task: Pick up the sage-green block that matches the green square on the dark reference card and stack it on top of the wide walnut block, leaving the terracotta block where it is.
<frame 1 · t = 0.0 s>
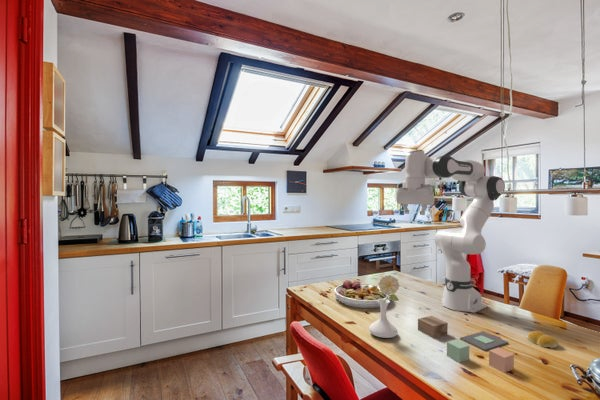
hand: (414, 214, 142), 48 cm above the table, tool pointing down, fingers open, 8 cm apart
green block: (457, 357, 107), on the table
terracotta block: (501, 367, 101), on the table
walnut base block: (432, 332, 126), on the table
bread roll: (542, 343, 118), on the table
bowl: (362, 300, 165), on the table
flower in vase: (384, 335, 123), on the table
reference card: (483, 341, 119), on the table
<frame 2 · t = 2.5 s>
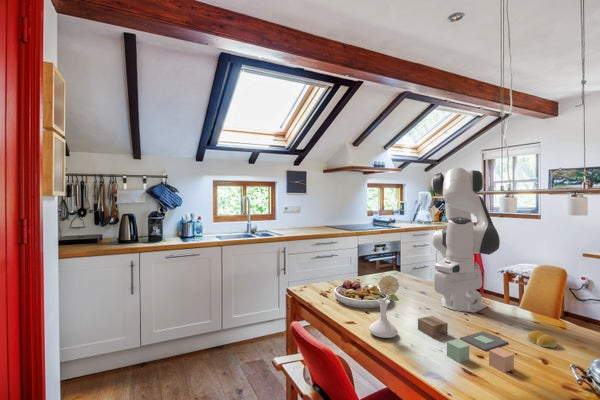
hand: (458, 303, 106), 19 cm above the table, tool pointing down, fingers open, 8 cm apart
nothing on the table moved.
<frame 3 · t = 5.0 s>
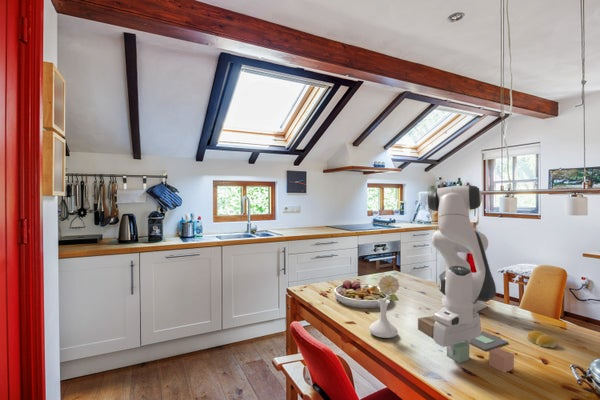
hand: (457, 352, 107), 2 cm above the table, tool pointing down, fingers closed on green block, 5 cm apart
green block: (457, 357, 107), on the table, touching gripper
everything else where it was.
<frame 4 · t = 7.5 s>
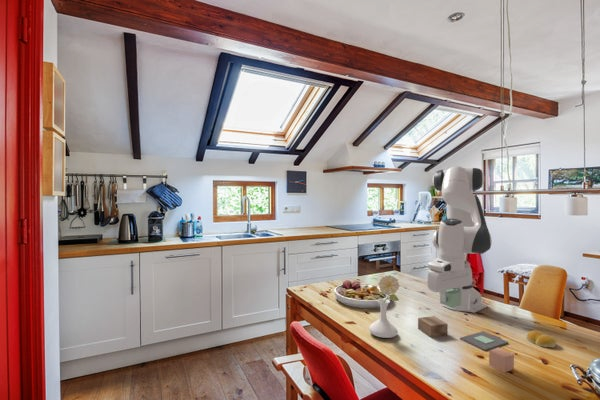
hand: (450, 299, 113), 18 cm above the table, tool pointing down, fingers closed on green block, 5 cm apart
green block: (450, 304, 113), point 16 cm above the table, touching gripper
everything else where it was.
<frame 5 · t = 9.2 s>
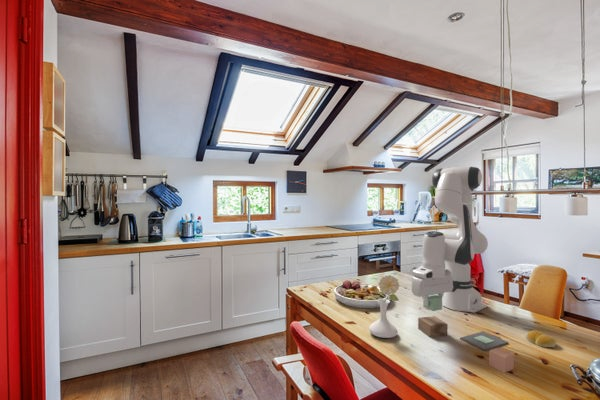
hand: (432, 304, 126), 12 cm above the table, tool pointing down, fingers closed on green block, 5 cm apart
green block: (432, 308, 126), point 10 cm above the table, touching gripper
everything else where it was.
when the fingers open (8 cm above the table, at t = 10.3 s): green block drops 2 cm, point 5 cm above the table.
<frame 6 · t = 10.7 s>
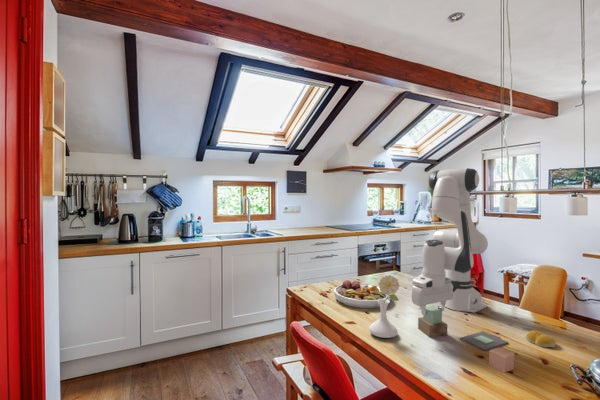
hand: (432, 312, 126), 8 cm above the table, tool pointing down, fingers open, 8 cm apart
green block: (432, 320, 126), point 5 cm above the table
everything else where it was.
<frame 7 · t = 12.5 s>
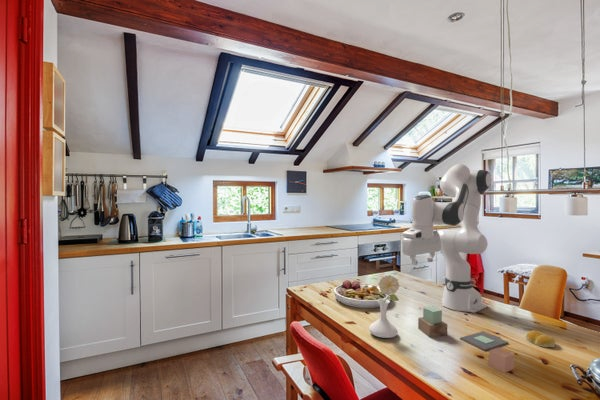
hand: (422, 263, 134), 27 cm above the table, tool pointing down, fingers open, 8 cm apart
nothing on the table moved.
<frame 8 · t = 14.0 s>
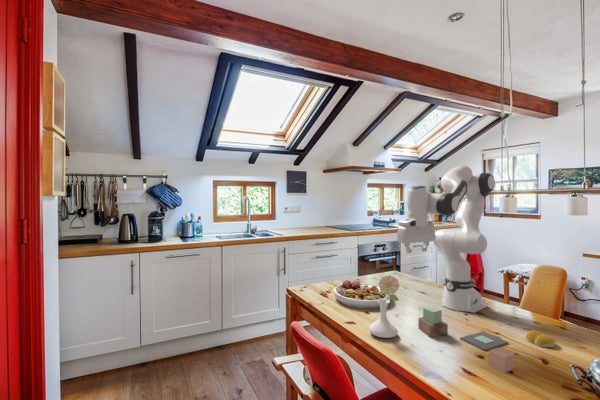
hand: (416, 252, 138), 31 cm above the table, tool pointing down, fingers open, 8 cm apart
green block: (432, 321, 126), point 5 cm above the table, touching walnut base block
walnut base block: (432, 332, 126), on the table, touching green block
everything else where it was.
at the end: green block 0.4 cm off-centre on the walnut base block, point 5.0 cm above the walnut base block's base; green block tilted 0°; the gripper is holding nothing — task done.
